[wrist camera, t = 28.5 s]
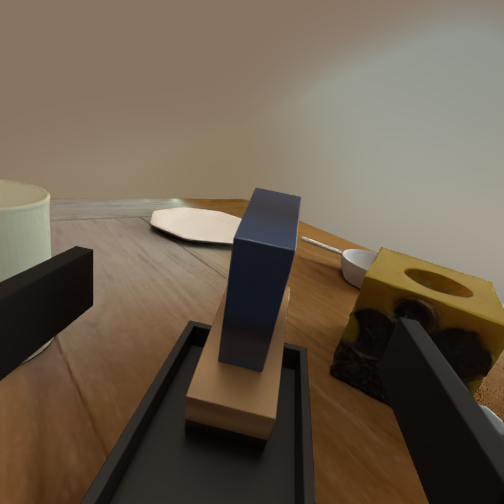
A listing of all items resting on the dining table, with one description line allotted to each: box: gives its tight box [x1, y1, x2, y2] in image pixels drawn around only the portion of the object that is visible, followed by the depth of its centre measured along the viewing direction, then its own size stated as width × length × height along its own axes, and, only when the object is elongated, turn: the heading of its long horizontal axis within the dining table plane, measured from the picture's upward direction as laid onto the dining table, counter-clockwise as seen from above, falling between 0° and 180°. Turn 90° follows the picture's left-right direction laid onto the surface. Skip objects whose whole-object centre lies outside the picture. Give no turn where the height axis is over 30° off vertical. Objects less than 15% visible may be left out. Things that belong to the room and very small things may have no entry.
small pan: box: [301, 237, 378, 289], centre depth 50 cm, size 11×18×4 cm, turn 63°
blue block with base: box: [184, 188, 301, 452], centre depth 19 cm, size 11×5×13 cm, turn 172°
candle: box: [330, 247, 504, 405], centre depth 27 cm, size 10×10×10 cm
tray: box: [80, 321, 316, 504], centre depth 19 cm, size 16×10×3 cm, turn 172°
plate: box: [150, 207, 242, 245], centre depth 58 cm, size 20×20×2 cm
